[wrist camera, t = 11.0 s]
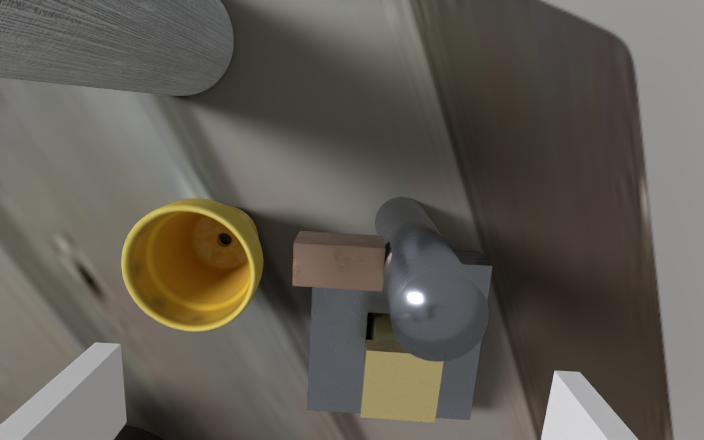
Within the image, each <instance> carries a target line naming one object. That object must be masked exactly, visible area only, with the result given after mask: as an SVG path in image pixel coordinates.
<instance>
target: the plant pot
mask: <svg viewBox="0 0 704 440" xmlns="http://www.w3.org/2000/svg"><path fill="white" fill-rule="evenodd" d="M221 233H226V234H229V235H230V236H231V238H232V241H231V243H230V244H227V245H226V244H223V243H222V242H221V241H220V239H219V236H220V234H221ZM121 266H122V274H123V279H124V282H125V285H126V287H127V289H128V291H129V293H130V295H131V297H132V298H133V300H134V301H135V302H136V304H137V305H138V306H139V307H140V308H141V309H142V310H143V311H144V312H145V313H146V314H148V315H149V316H150V317H152V318H153V319H155V320H156V321H158V322H160V323H162V324H164V325H166V326H168V327H171V328H174V329H178V330H183V331H191V332H201V331H208V330H213V329H217V328H219V327H222V326H224V325H226V324H228V323H230V322H231V321H233V320H234V319H235V318H237V317H238V316H239V315H240V314H241V313H242V312H243V311H244V309H245V308H246V307H247V306H248V304H249V303H250V301H251V299H252V298H253V296H254V294H255V292H256V290H257V287H258V285H259V282H260V279H261V276H262V271H263V253H262V248H261V245H260V242H259V239H258V231H257V228H256V226H255V224H254V222H253V220H252V219H251V218H250V217H249V216H248V215H247V214H246V213H245V212H243V211H242V210H240V209H238V208H236V207H233V206H229V205H224V204H222V203H219V202H216V201H212V200H208V199H199V198H193V199H185V200H180V201H177V202H173V203H170V204H168V205H165V206H163V207H161V208H158V209H156V210H154V211H152V212H150V213H149V214H147V215H146V216H144V217H143V218H142V219H141V220H140V221H139V222H138V223H137V224H136V225H135V226H134V227H133V228H132V230H131V231H130V233H129V234H128V236H127V239H126V241H125V244H124V247H123V251H122V260H121Z"/></svg>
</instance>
